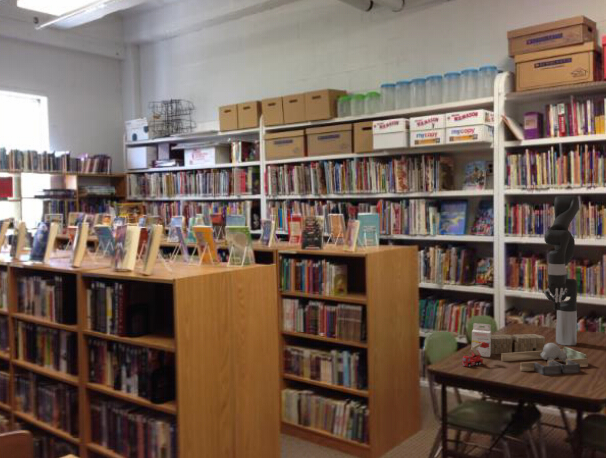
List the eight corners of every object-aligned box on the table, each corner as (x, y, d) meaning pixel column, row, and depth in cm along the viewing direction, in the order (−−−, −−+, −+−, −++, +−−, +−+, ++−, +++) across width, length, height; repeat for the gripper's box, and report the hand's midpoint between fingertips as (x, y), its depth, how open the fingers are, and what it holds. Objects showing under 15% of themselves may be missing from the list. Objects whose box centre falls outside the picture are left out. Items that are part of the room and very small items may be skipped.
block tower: (537, 350, 292) (479, 350, 291) (538, 334, 292) (480, 333, 291) (544, 355, 284) (485, 354, 283) (545, 337, 284) (485, 337, 283)
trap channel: (501, 360, 271) (501, 350, 271) (564, 356, 277) (564, 345, 276) (530, 376, 247) (530, 364, 247) (598, 370, 253) (598, 359, 253)
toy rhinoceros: (566, 370, 263) (574, 353, 262) (540, 359, 266) (547, 342, 265) (564, 365, 270) (572, 349, 269) (538, 354, 273) (546, 338, 272)
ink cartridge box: (471, 355, 281) (471, 325, 280) (472, 353, 285) (472, 322, 285) (490, 357, 278) (490, 326, 277) (491, 354, 282) (491, 324, 281)
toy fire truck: (461, 365, 264) (461, 344, 264) (483, 361, 271) (483, 340, 270) (466, 367, 261) (466, 346, 261) (489, 363, 268) (489, 342, 267)
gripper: (564, 271, 278) (564, 307, 279) (539, 272, 276) (539, 309, 277) (574, 273, 271) (574, 310, 272) (548, 275, 268) (548, 312, 270)
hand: (556, 310), depth 274 cm, fingers closed
